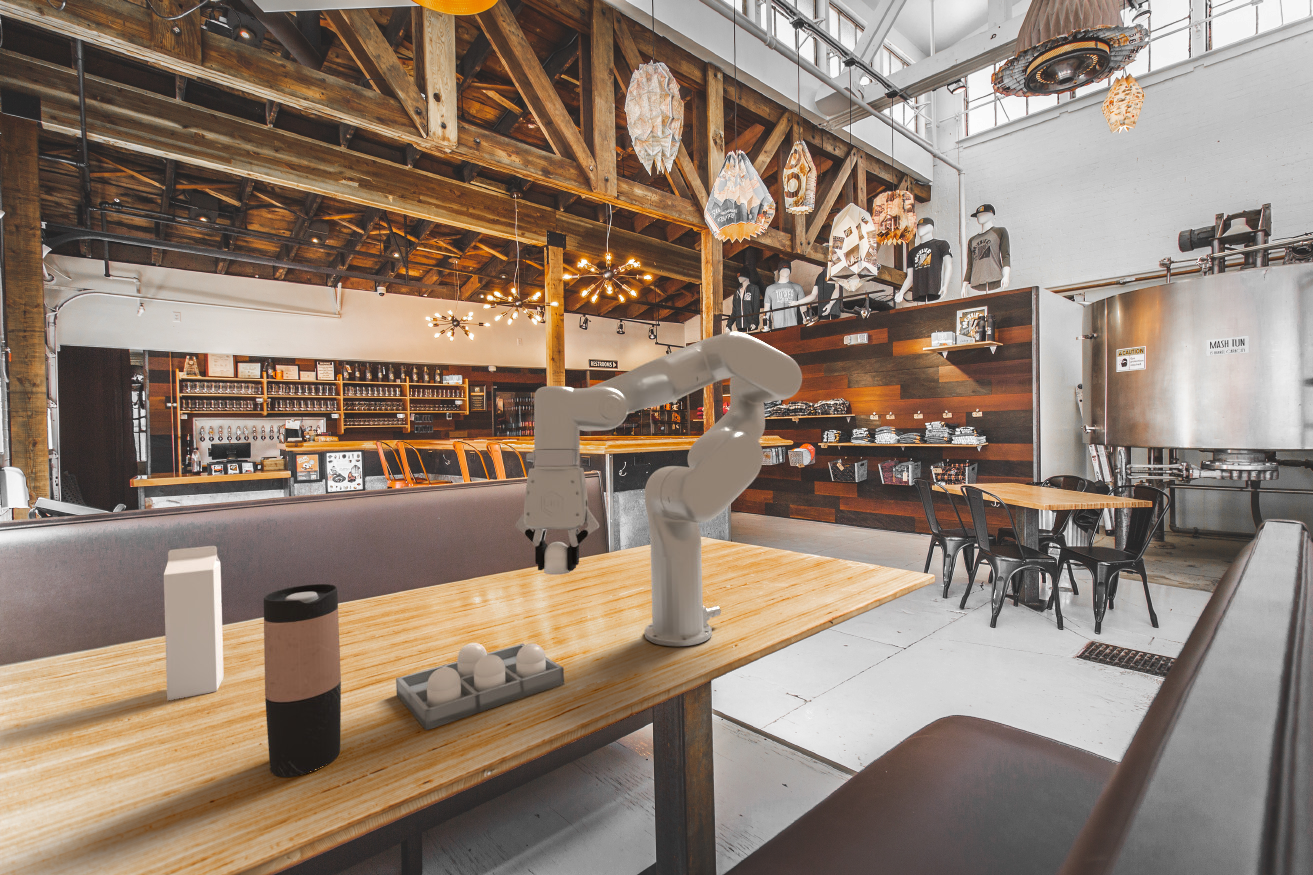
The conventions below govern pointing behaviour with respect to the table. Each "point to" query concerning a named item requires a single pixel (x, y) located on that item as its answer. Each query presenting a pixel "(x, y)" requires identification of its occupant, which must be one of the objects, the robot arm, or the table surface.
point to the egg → (556, 559)
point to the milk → (193, 622)
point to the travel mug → (302, 678)
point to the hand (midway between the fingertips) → (557, 567)
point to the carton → (477, 682)
